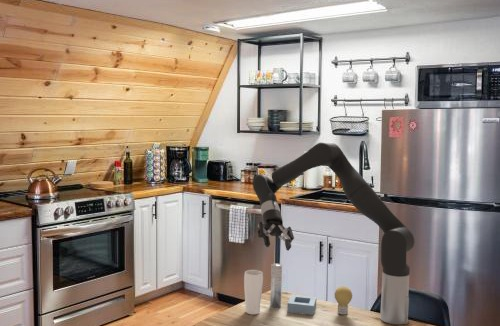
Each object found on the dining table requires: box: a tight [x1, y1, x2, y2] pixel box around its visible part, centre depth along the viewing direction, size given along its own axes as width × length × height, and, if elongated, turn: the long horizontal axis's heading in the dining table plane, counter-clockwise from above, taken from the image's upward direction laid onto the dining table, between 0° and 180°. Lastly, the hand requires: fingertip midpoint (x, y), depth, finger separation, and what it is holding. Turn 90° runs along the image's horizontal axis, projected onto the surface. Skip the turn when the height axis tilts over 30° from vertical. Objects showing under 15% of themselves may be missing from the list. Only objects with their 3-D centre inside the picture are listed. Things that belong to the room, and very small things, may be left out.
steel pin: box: [269, 263, 283, 309], centre depth 196 cm, size 4×4×16 cm
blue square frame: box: [286, 294, 317, 316], centre depth 194 cm, size 10×10×4 cm
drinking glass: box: [243, 269, 264, 316], centre depth 189 cm, size 7×7×15 cm
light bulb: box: [334, 286, 353, 316], centre depth 191 cm, size 6×6×10 cm
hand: (278, 247), depth 195 cm, fingers open, 8 cm apart
